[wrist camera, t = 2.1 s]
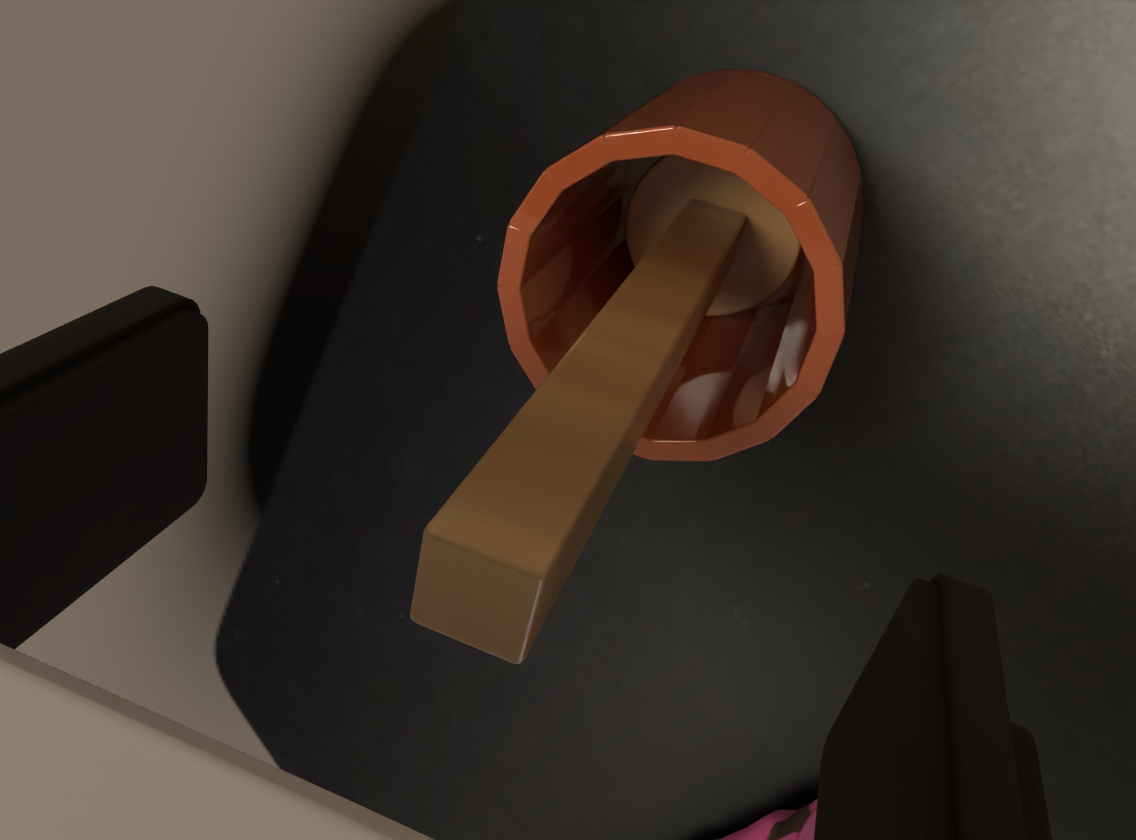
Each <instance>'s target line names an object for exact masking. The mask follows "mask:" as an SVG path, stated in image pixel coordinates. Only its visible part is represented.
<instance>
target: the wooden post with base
mask: <svg viewBox="0 0 1136 840" xmlns="http://www.w3.org/2000/svg"><path fill="white" fill-rule="evenodd" d="M625 231H626V241H627V246H628V250H629V253H630V256H631V259H632V262H633V264H634V266H635V269H634V270H633V271H632V272H631V273H630V275H629V276H628V277H627V278H626V280H625V281H624V282H623V283H622V285H621V286H620V287H619V288H618V290H617V291H616V292H615V293H614V295H613V296H612V297H611V298H610V299H609V301H608V302H607V303H606V304H605V306H604V307H603V308H602V309H601V311H600V312H599V313H598V314H597V316H596V317H595V318H594V319H593V321H592V322H591V323H590V324H589V326H588V327H587V328H586V329H585V330H584V332H583V333H582V334H581V335H580V337H579V338H578V339H577V340H576V342H575V343H574V344H573V345H572V347H571V348H570V349H569V350H568V352H567V353H566V354H565V355H564V357H563V358H562V359H561V360H560V361H559V363H558V364H557V365H556V366H555V368H554V369H553V370H552V371H551V373H550V374H549V375H548V376H547V378H546V379H545V380H544V381H543V383H542V384H541V385H540V386H539V388H538V389H537V390H536V391H535V392H534V394H533V395H532V396H531V397H530V399H529V400H528V401H527V402H526V404H525V405H524V406H523V407H522V409H521V410H520V411H519V412H518V414H517V415H516V416H515V417H514V418H513V420H512V421H511V422H510V423H509V425H508V426H507V427H506V428H505V430H504V431H503V432H502V433H501V435H500V436H499V437H498V438H497V440H496V441H495V442H494V443H493V445H492V446H491V447H490V448H489V449H488V451H487V452H486V453H485V454H484V456H483V457H482V458H481V459H480V461H479V462H478V463H477V464H476V466H475V467H474V468H473V469H472V471H471V472H470V473H469V474H468V476H467V477H466V478H465V479H464V480H463V482H462V483H461V484H460V485H459V487H458V488H457V489H456V490H455V492H454V493H453V494H452V495H451V497H450V498H449V499H448V500H447V502H446V503H445V504H444V505H443V506H442V508H441V509H440V510H439V511H438V513H437V514H436V515H435V516H434V518H433V519H432V520H431V521H430V523H429V524H428V525H427V526H426V528H425V529H424V533H423V539H422V545H421V551H420V557H419V564H418V570H417V576H416V582H415V588H414V594H413V600H412V606H411V613H410V617H411V619H412V620H413V621H414V622H415V623H417V624H420V625H422V626H424V627H427V628H429V629H432V630H434V631H436V632H439V633H441V634H444V635H446V636H448V637H451V638H453V639H456V640H458V641H460V642H463V643H465V644H468V645H470V646H472V647H475V648H477V649H480V650H482V651H484V652H487V653H489V654H492V655H494V656H496V657H499V658H501V659H504V660H506V661H508V662H511V663H513V664H520V663H521V662H522V661H523V660H524V659H525V658H526V656H527V654H528V652H529V650H530V648H531V646H532V645H533V643H534V641H535V639H536V637H537V635H538V633H539V631H540V629H541V627H542V626H543V624H544V622H545V620H546V618H547V616H548V614H549V612H550V610H551V608H552V606H553V605H554V603H555V601H556V599H557V597H558V595H559V593H560V591H561V589H562V587H563V586H564V584H565V582H566V580H567V578H568V576H569V574H570V572H571V570H572V568H573V567H574V565H575V563H576V561H577V559H578V557H579V555H580V553H581V551H582V549H583V547H584V546H585V544H586V542H587V540H588V538H589V536H590V534H591V532H592V530H593V528H594V527H595V525H596V523H597V521H598V519H599V517H600V515H601V513H602V511H603V509H604V508H605V506H606V504H607V502H608V500H609V498H610V496H611V494H612V492H613V490H614V488H615V487H616V485H617V483H618V481H619V479H620V477H621V475H622V473H623V471H624V469H625V468H626V466H627V464H628V462H629V460H630V458H631V456H632V454H633V452H634V450H635V449H636V447H637V445H638V443H639V441H640V439H641V437H642V435H643V433H644V431H645V429H646V428H647V426H648V424H649V422H650V420H651V418H652V416H653V414H654V412H655V410H656V409H657V407H658V405H659V403H660V401H661V399H662V397H663V395H664V393H665V391H666V390H667V388H668V386H669V384H670V382H671V380H672V378H673V376H674V374H675V372H676V370H677V369H678V367H679V365H680V363H681V361H682V359H683V357H684V355H685V353H686V351H687V350H688V348H689V346H690V344H691V342H692V340H693V338H694V336H695V334H696V332H697V331H698V329H699V327H700V325H701V323H702V321H703V319H704V317H705V315H706V316H725V315H732V314H736V313H741V312H744V311H746V310H749V309H752V308H754V307H755V306H757V305H759V304H761V303H763V302H764V301H766V300H767V299H768V298H770V297H771V296H772V295H773V294H774V293H775V292H777V291H778V290H779V289H780V288H781V286H782V285H783V284H784V283H785V281H786V280H787V279H788V277H789V275H790V274H791V272H792V271H793V268H794V266H795V264H796V262H797V259H798V256H799V254H800V251H801V248H802V247H801V245H800V243H799V241H798V239H797V238H796V236H795V234H794V232H793V230H792V228H791V226H790V224H789V222H788V220H787V218H786V216H785V214H783V213H782V212H781V211H780V210H779V209H777V208H776V207H775V206H774V205H773V204H771V203H770V202H769V201H768V200H767V199H765V198H764V197H763V196H762V195H761V194H759V193H758V192H757V191H756V190H755V189H753V188H752V187H751V186H750V185H749V184H747V183H746V182H745V181H744V180H743V179H741V178H740V177H739V176H738V175H737V174H735V173H732V172H729V171H726V170H722V169H719V168H716V167H713V166H709V165H706V164H703V163H700V162H696V161H693V160H690V159H687V158H683V157H680V156H677V155H667V156H661V157H660V158H659V159H658V160H657V161H656V162H655V163H654V164H653V165H652V166H651V167H650V168H649V169H648V170H647V171H646V172H645V173H644V174H643V176H642V177H641V179H640V180H639V182H638V183H637V185H636V187H635V189H634V191H633V193H632V195H631V198H630V201H629V204H628V208H627V214H626V224H625Z"/></svg>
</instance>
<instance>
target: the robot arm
mask: <svg viewBox="0 0 1136 840" xmlns="http://www.w3.org/2000/svg"><path fill="white" fill-rule="evenodd" d="M207 417H208V322H207V320H206V318H205V317H204V316H203V315H201V314H200V309H199V307H198V305H197V303H196V302H194V301H193V300H192V299H189V298H186V297H183V296H181V295H178V294H175V293H172V292H170V291H167V290H164V289H161V288H159V287H154V286H149V287H145V288H143V289H140V290H138V291H136V292H134V293H132V294H130V295H128V296H125V297H123V298H121V299H119V300H117V301H114V302H112V303H110V304H108V305H106V306H104V307H101V308H99V309H97V310H95V311H93V312H90V313H88V314H86V315H84V316H82V317H80V318H78V319H75V320H73V321H71V322H69V323H67V324H64V325H62V326H60V327H58V328H56V329H53V330H51V331H49V332H47V333H45V334H43V335H40V336H38V337H36V338H34V339H32V340H30V341H27V342H26V343H23V344H21V345H19V346H17V347H14V348H12V349H10V350H8V351H6V352H3V353H1V354H0V840H434V839H432V838H430V837H428V836H425V835H423V834H421V833H419V832H417V831H414V830H412V829H410V828H408V827H406V826H404V825H401V824H399V823H397V822H395V821H393V820H391V819H388V818H386V817H384V816H382V815H380V814H378V813H375V812H373V811H371V810H369V809H367V808H364V807H362V806H360V805H358V804H356V803H354V802H351V801H349V800H347V799H345V798H343V797H340V796H338V795H336V794H334V793H331V792H329V791H327V790H325V789H323V788H320V787H318V786H316V785H314V784H312V783H309V782H307V781H305V780H303V779H301V778H298V777H296V776H294V775H292V774H290V773H287V772H285V771H283V770H281V769H279V768H276V767H274V766H272V765H270V764H268V763H265V762H263V761H261V760H259V759H257V758H254V757H252V756H250V755H248V754H246V753H243V752H241V751H239V750H237V749H234V748H232V747H230V746H228V745H226V744H224V743H221V742H219V741H217V740H215V739H213V738H210V737H208V736H206V735H204V734H201V733H199V732H197V731H195V730H193V729H190V728H188V727H186V726H184V725H181V724H179V723H177V722H175V721H173V720H170V719H168V718H166V717H164V716H162V715H159V714H157V713H155V712H153V711H150V710H148V709H146V708H144V707H142V706H140V705H137V704H135V703H133V702H130V701H128V700H126V699H124V698H122V697H120V696H117V695H115V694H113V693H111V692H108V691H106V690H104V689H102V688H99V687H97V686H95V685H93V684H90V683H88V682H86V681H84V680H82V679H79V678H77V677H75V676H72V675H70V674H68V673H66V672H64V671H61V670H59V669H57V668H55V667H52V666H50V665H48V664H46V663H43V662H41V661H39V660H37V659H34V658H32V657H30V656H27V655H25V654H23V653H21V652H19V651H16V650H14V649H15V648H17V647H18V646H19V645H20V644H22V643H23V642H24V641H25V640H27V639H28V638H29V637H30V636H32V635H33V634H34V633H35V632H37V631H38V630H39V629H40V628H42V627H43V626H44V625H45V624H47V623H48V622H49V621H50V620H51V619H53V618H54V617H55V616H57V615H58V614H59V613H60V612H62V611H63V610H64V609H65V608H67V607H68V606H69V605H70V604H72V603H73V602H74V601H75V600H77V599H78V598H79V597H80V596H82V595H83V594H84V593H85V592H87V591H88V590H89V589H90V588H92V587H93V586H94V585H95V584H96V583H98V582H99V581H100V580H102V579H103V578H104V577H105V576H107V575H108V574H109V573H110V572H112V571H113V570H114V569H115V568H117V567H118V566H119V565H120V564H122V563H123V562H124V561H125V560H127V559H128V558H129V557H130V556H132V555H133V554H134V553H135V552H137V551H138V550H139V549H140V548H142V547H143V546H144V545H145V544H147V543H148V542H149V541H150V540H152V539H153V538H154V537H155V536H157V535H158V534H159V533H160V532H161V531H163V530H164V529H165V528H167V527H168V526H169V525H170V524H172V523H173V522H174V521H175V520H176V519H178V518H179V517H180V516H181V515H183V514H184V513H185V512H186V511H188V510H189V509H190V508H191V507H193V506H194V505H195V504H196V503H197V502H198V500H199V499H200V497H201V496H202V494H203V492H204V490H205V486H206V482H207V422H208V421H207V419H208V418H207ZM814 840H1052V837H1051V831H1050V825H1049V819H1048V813H1047V808H1046V802H1045V796H1044V790H1043V784H1042V778H1041V772H1040V766H1039V761H1038V755H1037V749H1036V745H1035V742H1034V738H1033V735H1032V734H1031V733H1030V732H1029V730H1028V729H1027V728H1025V727H1022V726H1020V725H1017V724H1015V723H1012V722H1010V719H1009V712H1008V705H1007V698H1006V691H1005V684H1004V677H1003V670H1002V663H1001V656H1000V648H999V641H998V634H997V627H996V620H995V613H994V606H993V599H992V596H991V592H989V591H988V590H986V589H983V588H981V587H978V586H975V585H972V584H970V583H967V582H964V581H961V580H959V579H956V578H953V577H950V576H948V575H945V574H942V573H938V574H936V575H935V576H934V577H933V578H932V580H931V581H930V582H928V581H925V580H922V579H919V578H916V579H915V580H914V581H913V582H912V583H911V585H910V586H909V588H908V590H907V592H906V593H905V595H904V597H903V599H902V601H901V603H900V604H899V606H898V608H897V610H896V612H895V614H894V615H893V617H892V619H891V621H890V623H889V624H888V626H887V628H886V630H885V632H884V634H883V635H882V637H881V639H880V641H879V643H878V644H877V646H876V648H875V650H874V652H873V654H872V655H871V657H870V659H869V661H868V663H867V664H866V666H865V668H864V670H863V672H862V674H861V675H860V677H859V679H858V681H857V683H856V684H855V686H854V688H853V690H852V692H851V694H850V695H849V697H848V699H847V701H846V703H845V704H844V706H843V708H842V710H841V712H840V714H839V715H838V717H837V719H836V721H835V723H834V724H833V726H832V728H831V730H830V732H829V734H828V737H827V740H826V743H825V746H824V749H823V754H822V759H821V768H820V779H819V789H818V800H817V810H816V821H815V832H814Z"/></svg>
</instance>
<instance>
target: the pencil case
mask: <svg viewBox="0 0 1136 840" xmlns="http://www.w3.org/2000/svg"><path fill="white" fill-rule="evenodd" d="M817 800H818V799H816V800H815V801H814V802H812V803H809V804H807V805H805V806H803V807H802V808H800V809H798V810H777V811H774V812H772V813H770V814H768V815H766V816H764V817H763V818H761V819H759V820H758V821H756V822H754V823H753V824H751V825H750V826H748V827H747V828H744V829H742V830H739V831H737V832H734V833H732V834H730V835H727V836H725V837H724V838H720V839H715V840H814V832H815V821H816V810H817Z"/></svg>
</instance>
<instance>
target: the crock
mask: <svg viewBox="0 0 1136 840" xmlns="http://www.w3.org/2000/svg"><path fill="white" fill-rule="evenodd" d="M667 155H677V156H680V157H683V158H687V159H690V160H693V161H696V162H700V163H703V164H706V165H709V166H713V167H716V168H719V169H722V170H726V171H729V172H732V173H735V174H737V175H738V176H739V177H740V178H741V179H743V180H744V181H745V182H746V183H747V184H749V185H750V186H751V187H752V188H753V189H755V190H756V191H757V192H758V193H759V194H761V195H762V196H763V197H764V198H765V199H767V200H768V201H769V202H770V203H771V204H773V205H774V206H775V207H776V208H777V209H779V210H780V211H781V212H782V213H783V214H785V216H786V218H787V220H788V222H789V224H790V226H791V228H792V230H793V232H794V234H795V236H796V238H797V239H798V241H799V243H800V245H801V247H802V248H801V251H800V254H799V256H798V259H797V262H796V264H795V266H794V268H793V271H792V272H791V274H790V275H789V277H788V279H787V280H786V281H785V283H784V284H783V285H782V286H781V288H780V289H779V290H778V291H777V292H775V293H774V294H773V295H772V296H771V297H770V298H768V299H767V300H766V301H764V302H763V303H761V304H759V305H757V306H755V307H754V308H752V309H749V310H746V311H744V312H741V313H736V314H732V315H725V316H706V315H705V317H704V319H703V321H702V323H701V325H700V327H699V329H698V331H697V332H696V334H695V336H694V338H693V340H692V342H691V344H690V346H689V348H688V350H687V351H686V353H685V355H684V357H683V359H682V361H681V363H680V365H679V367H678V369H677V370H676V372H675V374H674V376H673V378H672V380H671V382H670V384H669V386H668V388H667V390H666V391H665V393H664V395H663V397H662V399H661V401H660V403H659V405H658V407H657V409H656V410H655V412H654V414H653V416H652V418H651V420H650V422H649V424H648V426H647V428H646V429H645V431H644V433H643V435H642V437H641V439H640V441H639V443H638V445H637V447H636V449H635V450H634V452H633V454H634V455H636V456H639V457H642V458H645V459H651V460H657V461H712V459H713V460H717V459H720V458H723V457H725V456H728V455H731V454H733V453H736V452H739V451H742V450H744V449H747V448H750V447H753V446H755V445H758V444H761V443H763V442H766V441H769V440H770V439H771V438H774V437H775V436H776V435H777V434H779V433H780V432H781V431H782V430H783V429H784V428H785V427H786V426H787V425H788V424H789V423H790V422H791V421H793V420H794V419H795V418H796V417H797V416H798V415H799V414H800V413H801V412H802V411H803V410H804V409H805V408H807V407H808V406H809V405H810V404H811V403H812V402H813V401H814V400H815V399H816V398H817V397H818V395H819V394H820V393H821V391H822V388H823V386H824V384H825V381H826V379H827V376H828V374H829V372H830V369H831V367H832V365H833V362H834V360H835V357H836V355H837V353H838V350H839V348H840V346H841V343H842V341H843V338H844V334H845V330H846V323H847V317H848V311H849V304H850V298H851V292H852V285H853V279H854V273H855V266H856V260H857V253H858V247H859V241H860V234H861V228H862V222H863V215H862V200H863V188H862V177H861V170H860V166H859V163H858V159H857V155H856V153H855V150H854V148H853V145H852V143H851V140H850V139H849V137H848V135H847V133H846V131H845V130H844V128H843V126H842V125H841V123H840V122H839V121H838V119H837V118H836V117H835V116H834V114H833V113H832V112H831V111H830V110H829V109H828V108H827V107H826V106H825V105H824V104H823V103H822V102H821V101H820V100H819V99H818V98H817V97H815V96H814V95H813V94H811V93H810V92H808V91H807V90H806V89H804V88H803V87H801V86H799V85H797V84H795V83H793V82H791V81H789V80H787V79H785V78H782V77H779V76H776V75H774V74H770V73H766V72H761V71H756V70H746V69H727V70H717V71H712V72H707V73H703V74H699V75H696V76H690V77H689V78H685V79H683V80H682V81H680V82H679V83H677V84H675V85H674V86H672V87H670V88H668V89H667V90H665V91H664V92H662V93H661V94H659V95H657V96H656V97H654V98H652V99H651V100H649V101H647V102H646V103H644V104H643V105H641V106H640V107H638V108H637V109H635V110H634V111H632V112H631V113H629V114H628V115H626V116H625V117H623V118H622V119H620V120H618V121H617V122H615V123H614V124H612V125H611V126H609V127H608V128H606V129H605V130H603V131H602V132H600V133H599V134H597V135H596V136H594V137H593V138H591V139H590V140H588V141H587V142H585V143H584V144H582V145H581V146H579V147H578V148H576V149H575V150H573V151H572V152H570V153H569V154H567V155H566V156H564V157H562V158H561V159H559V160H558V161H556V162H555V163H553V164H552V165H550V166H549V167H548V168H547V169H546V170H545V171H543V173H542V174H541V176H540V177H539V178H538V180H537V181H536V183H535V184H534V186H533V187H532V189H531V190H530V192H529V193H528V195H527V196H526V198H525V199H524V201H523V202H522V204H521V205H520V206H519V208H518V209H517V211H516V212H515V214H514V215H513V217H512V218H511V220H510V224H509V225H508V228H507V233H506V239H505V244H504V249H503V255H502V260H501V266H500V271H499V276H498V282H497V283H498V293H499V298H500V303H501V308H502V313H503V318H504V322H505V327H506V332H507V337H508V342H509V345H510V348H511V350H512V352H513V353H514V355H515V357H516V358H517V360H518V362H519V363H520V365H521V366H522V368H523V370H524V371H525V373H526V374H527V376H528V378H529V379H530V381H531V382H532V384H533V386H534V387H535V389H536V390H537V389H538V388H539V386H540V385H541V384H542V383H543V381H544V380H545V379H546V378H547V376H548V375H549V374H550V373H551V371H552V370H553V369H554V368H555V366H556V365H557V364H558V363H559V361H560V360H561V359H562V358H563V357H564V355H565V354H566V353H567V352H568V350H569V349H570V348H571V347H572V345H573V344H574V343H575V342H576V340H577V339H578V338H579V337H580V335H581V334H582V333H583V332H584V330H585V329H586V328H587V327H588V326H589V324H590V323H591V322H592V321H593V319H594V318H595V317H596V316H597V314H598V313H599V312H600V311H601V309H602V308H603V307H604V306H605V304H606V303H607V302H608V301H609V299H610V298H611V297H612V296H613V295H614V293H615V292H616V291H617V290H618V288H619V287H620V286H621V285H622V283H623V282H624V281H625V280H626V278H627V277H628V276H629V275H630V273H631V272H632V271H633V270H634V269H635V266H634V264H633V262H632V259H631V256H630V253H629V250H628V246H627V241H626V231H625V224H626V214H627V208H628V204H629V201H630V198H631V195H632V193H633V191H634V189H635V187H636V185H637V183H638V182H639V180H640V179H641V177H642V176H643V174H644V173H645V172H646V171H647V170H648V169H649V168H650V167H651V166H652V165H653V164H654V163H655V162H656V161H657V160H658V159H659V158H660V157H661V156H667Z"/></svg>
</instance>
